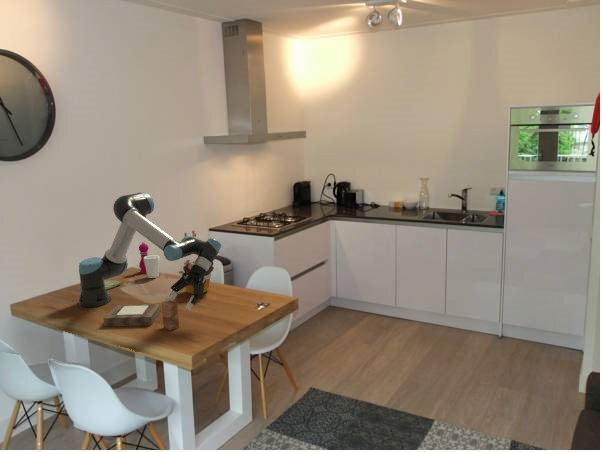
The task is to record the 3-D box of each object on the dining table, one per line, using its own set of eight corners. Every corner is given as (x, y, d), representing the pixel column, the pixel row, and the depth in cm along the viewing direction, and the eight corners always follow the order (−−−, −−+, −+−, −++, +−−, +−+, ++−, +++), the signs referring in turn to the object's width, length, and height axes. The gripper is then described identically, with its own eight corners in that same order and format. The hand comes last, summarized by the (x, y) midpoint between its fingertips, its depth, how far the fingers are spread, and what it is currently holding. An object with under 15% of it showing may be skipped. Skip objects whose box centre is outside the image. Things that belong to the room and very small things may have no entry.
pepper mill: (141, 270, 341) (138, 240, 337) (152, 270, 342) (150, 240, 338) (138, 273, 334) (136, 243, 330) (150, 273, 335) (147, 242, 331)
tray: (104, 326, 247) (103, 317, 246) (116, 312, 264) (115, 304, 264) (151, 324, 247) (151, 316, 246) (160, 311, 265) (160, 303, 264)
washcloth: (106, 291, 300) (105, 286, 300) (84, 288, 309) (83, 282, 308) (123, 285, 312) (122, 280, 311) (102, 281, 320) (101, 276, 319)
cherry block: (170, 330, 240) (168, 305, 238) (163, 328, 243) (161, 303, 241) (179, 327, 244) (177, 302, 242) (172, 324, 247) (170, 300, 245)
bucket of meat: (174, 293, 294) (172, 258, 290) (195, 285, 308) (193, 252, 304) (202, 298, 284) (200, 262, 280) (221, 289, 298) (220, 255, 294)
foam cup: (146, 280, 319) (145, 259, 317) (143, 276, 327) (142, 256, 325) (162, 278, 323) (161, 257, 321) (159, 274, 332) (157, 254, 329)
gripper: (222, 276, 248) (200, 315, 239) (187, 268, 263) (165, 305, 254) (213, 267, 243) (190, 308, 234) (178, 260, 258) (155, 298, 249)
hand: (177, 306), depth 244 cm, fingers open, 13 cm apart
